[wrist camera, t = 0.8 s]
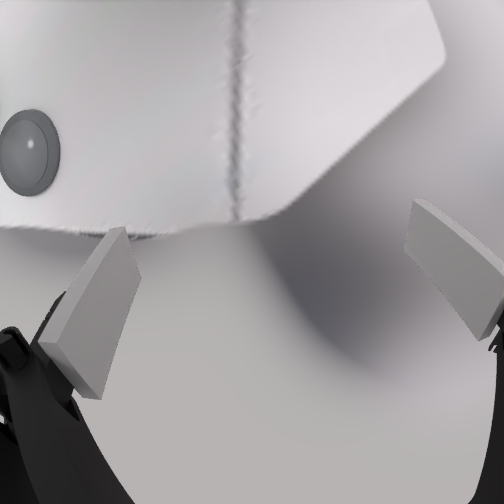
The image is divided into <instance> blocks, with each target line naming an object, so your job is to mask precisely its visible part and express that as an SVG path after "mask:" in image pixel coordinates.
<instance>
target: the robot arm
mask: <svg viewBox="0 0 504 504" xmlns="http://www.w3.org/2000/svg"><path fill="white" fill-rule="evenodd" d="M404 250H405V252H406V253H407V254H408V255H409V256H410V257H411V258H412V259H413V260H414V262H415V263H416V264H417V265H418V266H419V267H420V268H421V269H422V271H423V272H424V273H425V274H426V275H427V276H428V278H429V279H430V280H431V281H432V282H433V283H434V285H435V286H436V287H437V288H438V289H439V290H440V292H441V293H442V294H443V295H444V297H445V298H446V299H447V300H448V302H449V303H450V304H451V305H452V307H453V308H454V309H455V311H456V312H457V313H458V314H459V316H460V317H461V318H462V320H463V321H464V322H465V324H466V325H467V326H468V328H469V329H470V330H471V332H472V333H473V335H474V336H475V338H476V339H477V340H478V341H480V340H482V339H484V338H486V337H489V336H490V335H491V333H492V331H493V329H494V328H495V326H496V324H497V325H498V326H499V327H500V330H499V331H498V333H497V335H496V336H495V338H494V340H493V341H492V343H491V344H490V346H489V349H488V351H491V349H492V348H493V346H494V345H497V346H496V348H495V349H494V351H493V352H495V353H497V375H496V392H495V402H494V412H493V419H492V426H491V432H490V438H489V443H488V448H487V452H486V457H485V461H484V465H483V469H482V473H481V476H480V480H479V483H478V486H477V489H476V492H475V495H474V497H473V498H472V500H471V501H470V502H469V503H468V504H504V262H503V261H501V260H500V259H499V258H498V257H497V256H496V255H495V254H494V253H493V252H491V251H490V250H489V249H488V248H487V247H486V246H484V245H483V244H482V243H481V242H480V241H479V240H477V239H476V238H475V237H474V236H472V235H471V234H470V233H469V232H468V231H466V230H465V229H464V228H463V227H461V226H460V225H459V224H457V223H456V222H455V221H454V220H452V219H451V218H449V217H448V216H447V215H446V214H444V213H443V212H441V211H440V210H439V209H437V208H436V207H434V206H433V205H431V204H430V203H429V202H427V201H426V200H413V202H412V208H411V214H410V220H409V226H408V231H407V236H406V241H405V246H404ZM140 281H141V276H140V273H139V270H138V267H137V264H136V261H135V258H134V255H133V253H132V249H131V246H130V242H129V239H128V236H127V232H126V229H125V227H120V228H113V229H110V230H109V231H108V232H107V234H106V235H105V236H104V238H103V239H102V240H101V242H100V243H99V244H98V246H97V247H96V248H95V250H94V251H93V253H92V254H91V255H90V257H89V258H88V260H87V261H86V263H85V264H84V266H83V267H82V269H81V270H80V272H79V273H78V275H77V276H76V277H75V279H74V280H73V282H72V284H71V285H70V287H69V288H68V290H67V291H65V292H64V293H63V294H62V295H60V296H59V298H57V299H56V300H55V302H54V304H53V305H52V307H51V309H50V312H48V314H47V315H46V317H45V320H44V321H43V322H42V324H41V326H40V327H39V329H38V331H37V333H36V335H35V336H34V338H33V340H32V342H31V344H30V345H29V344H28V342H27V341H26V340H25V338H24V337H23V335H22V334H21V332H20V331H19V329H18V328H16V327H7V328H5V329H3V330H2V331H1V332H0V414H1V415H2V416H3V417H4V424H3V423H1V422H0V504H135V503H134V502H133V500H132V499H131V498H130V496H129V495H128V494H127V492H126V491H125V489H124V488H123V486H122V485H121V483H120V482H119V481H118V479H117V478H116V476H115V474H114V473H113V471H112V470H111V468H110V466H109V465H108V463H107V461H106V460H105V458H104V456H103V455H102V453H101V452H100V449H99V447H98V446H97V444H96V442H95V440H94V438H93V436H92V434H91V433H90V430H89V428H88V426H87V424H86V422H85V420H84V418H83V416H82V414H81V412H80V410H79V407H78V405H77V403H76V401H75V400H74V398H73V397H72V396H71V395H72V392H73V389H74V388H75V389H76V391H77V392H78V393H79V394H80V395H81V396H82V397H83V398H89V399H97V400H101V399H102V395H103V391H104V388H105V384H106V381H107V377H108V374H109V370H110V367H111V364H112V361H113V357H114V354H115V351H116V348H117V345H118V341H119V338H120V336H121V333H122V330H123V327H124V324H125V321H126V318H127V315H128V313H129V310H130V307H131V304H132V302H133V299H134V296H135V294H136V291H137V288H138V286H139V283H140Z"/></svg>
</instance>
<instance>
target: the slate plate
mask: <svg viewBox="0 0 504 504" xmlns="http://www.w3.org/2000/svg"><path fill="white" fill-rule="evenodd" d="M59 158H60V144H59V138H58V134H57V131H56V128H55V126H54V124H53V122H52V121H51V120H50V118H49V117H48V116H47V115H46V114H44V113H43V112H41V111H39V110H34V109H30V110H24V111H20V112H18V113H16V114H15V115H13V116H12V117H11V118H10V119H9V120H8V121H7V123H6V124H5V126H4V128H3V130H2V132H1V135H0V172H1V175H2V177H3V179H4V181H5V182H6V184H7V185H8V186H9V188H10V189H11V190H13V191H14V192H15V193H17V194H19V195H22V196H33V195H36V194H38V193H39V192H41V191H42V190H44V189H45V188H46V187H47V186H48V185H49V184H50V183H51V182H52V180H53V178H54V176H55V174H56V172H57V168H58V164H59Z"/></svg>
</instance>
